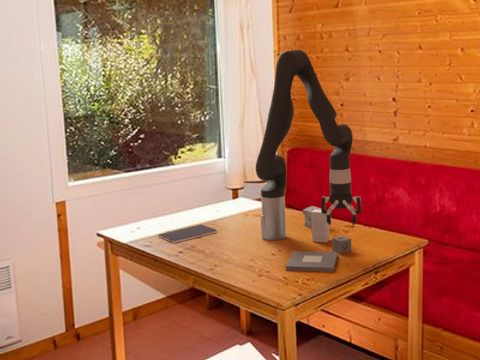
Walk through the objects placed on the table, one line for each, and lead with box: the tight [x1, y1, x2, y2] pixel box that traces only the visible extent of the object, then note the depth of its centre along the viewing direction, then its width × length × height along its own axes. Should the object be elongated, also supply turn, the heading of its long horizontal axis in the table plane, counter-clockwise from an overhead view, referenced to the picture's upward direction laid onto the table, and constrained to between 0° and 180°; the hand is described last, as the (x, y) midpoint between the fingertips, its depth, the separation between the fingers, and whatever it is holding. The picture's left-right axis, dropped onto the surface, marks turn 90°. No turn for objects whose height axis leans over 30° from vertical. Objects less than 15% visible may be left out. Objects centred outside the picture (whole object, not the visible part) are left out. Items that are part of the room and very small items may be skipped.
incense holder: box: [302, 205, 321, 228], centre depth 254 cm, size 8×6×8 cm
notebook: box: [157, 224, 217, 244], centre depth 253 cm, size 13×2×21 cm
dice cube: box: [331, 235, 352, 255], centre depth 221 cm, size 5×5×5 cm
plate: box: [285, 250, 339, 273], centre depth 210 cm, size 16×16×2 cm
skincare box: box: [311, 210, 331, 243], centre depth 234 cm, size 6×4×12 cm
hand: (341, 224), depth 219 cm, fingers open, 8 cm apart
